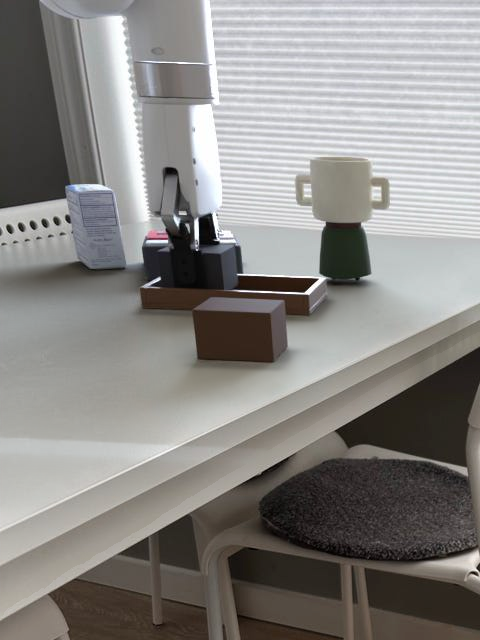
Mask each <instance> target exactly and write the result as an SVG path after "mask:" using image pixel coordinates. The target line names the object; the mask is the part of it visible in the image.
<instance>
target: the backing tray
mask: <svg viewBox="0 0 480 640" xmlns="http://www.w3.org/2000/svg"><path fill="white" fill-rule="evenodd" d="M237 275H238V286H236V287H235V288H233V289H232V290H216V289H191V288H167V287H162V285H161V278H160V277H158V278H157V279H155V280H150V281H149V282H147V283H145V284H143V285H141V286H139V288H138V289H139V296H140V302H141V308H142V309H156V310H157V309H158V310H159V309H160V310H181V311H182V310H183V311H192V310H193V309H194V308H196V307H197V306H199V305H200V304H202V303H203V302H205V301H206V300H208V299H209V298H211V297H219V298H243V299H267V300H284V301H285V314H286V315H303V316H311V314H313V313H314V311H315V310H316V309H317V308H318V307H319V306H320V304H322V302H324V300H325V299H326V298H327V297H328V287H327V277H323V276H322V277H320V276H319V277H318V276H296V275H294V276H293V275H274V274H273V275H272V274H271V275H270V274H251V273H250V274H249V273H248V274H246V273H243V274H237Z"/></svg>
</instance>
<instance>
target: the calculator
mask: <svg viewBox="0 0 480 640" xmlns="http://www.w3.org/2000/svg"><path fill="white" fill-rule="evenodd" d="M219 233H220V238H219V240H214V241H220V245H234V246H235V254H236V264H237V274H244V265H243V255H242V246H241V244H240V243H239V241H238V239H237V238H236V236H235V235H234V234H233V233H232V232H231V230H222V229H221V230H220V229H219ZM167 246H168V234H167V233H166V231H165V230H149V231H148V232H147V235H145V237H144V239H143V243H142V245H141V252H142V253H141V254H142V262H143V268H144V275H145V279H146V280H149V281H153V280H155V279H157V278H158V277H160V271H159V263H158V256H157V251H159V250H161V249H163V248H165V247H167Z"/></svg>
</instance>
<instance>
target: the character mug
mask: <svg viewBox="0 0 480 640" xmlns="http://www.w3.org/2000/svg"><path fill="white" fill-rule="evenodd" d="M373 170H374V169H373V160H372V159H369V158H364V157H354V156H320V157H319V156H318V157H317V156H315V157H310V158H309V172H310V173H309V174H305V173H304V174H303V173H298V174H296V175H295V176H294V177H295V178H294V189H295V201H296V204H297V205H298V206H300V207H311V211H312V215H313V218H314V219H316V220H318V221H321V222H325V225H324V226H323V228H322V230H321V235H320V237H321V238H320V248H319V250H320V251H319V264H318V265H319V268H318V269H319V270H318V274H319V275H321V276H322V277H323V278H328V279H331V280H333V281H335V280H344V281H345V280H347V281H348V280H355V281H356V282H359V281H361V278H364V277H367V276H370V275H372V266H371V257H370V249H369V245H368V239H367V233H366V230H365V228H364V227H363V226H362V223H366V222H368V221H371V220H372V218H373V215H374V210H381V211H386V210H388V209H389V208H390V204H391V203H390V199H391V198H390V197H391V196H390V181H389V179H388V178H385V177H374V176H373V173H374V171H373ZM304 185H310V191H311V192H310V193H311V194H310V195H311V197H310V196H305V189H304V188H305V187H304ZM374 188H380V197H381V198H380V200H379V199H374Z"/></svg>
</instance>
